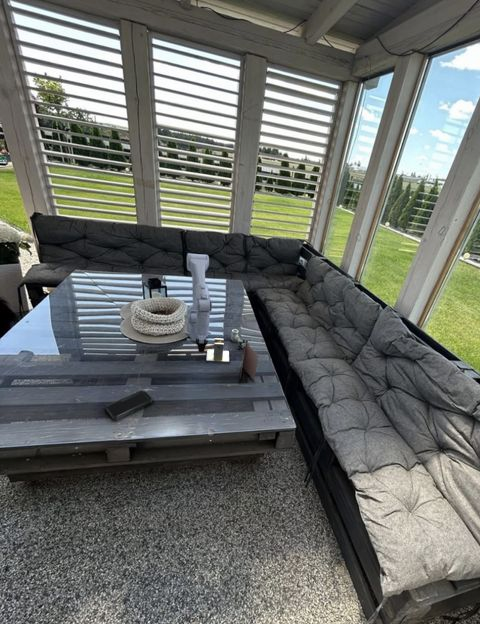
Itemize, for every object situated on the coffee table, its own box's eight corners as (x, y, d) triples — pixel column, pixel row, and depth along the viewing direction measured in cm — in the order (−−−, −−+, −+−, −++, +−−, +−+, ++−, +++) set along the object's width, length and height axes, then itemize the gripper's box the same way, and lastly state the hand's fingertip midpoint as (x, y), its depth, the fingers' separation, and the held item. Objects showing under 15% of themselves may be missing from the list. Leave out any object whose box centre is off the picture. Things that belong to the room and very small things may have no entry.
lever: (199, 354, 141) (196, 349, 139) (200, 351, 143) (197, 346, 141) (222, 347, 140) (220, 342, 138) (222, 344, 142) (220, 339, 141)
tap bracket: (206, 362, 140) (207, 345, 135) (207, 351, 147) (208, 335, 142) (228, 363, 142) (230, 347, 137) (228, 352, 149) (230, 337, 144)
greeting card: (240, 367, 141) (244, 342, 133) (255, 369, 142) (259, 344, 133) (237, 382, 132) (241, 356, 123) (253, 384, 132) (258, 358, 124)
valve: (227, 340, 159) (237, 351, 152) (228, 329, 156) (238, 341, 148) (237, 337, 163) (248, 349, 155) (238, 328, 159) (249, 339, 151)
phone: (153, 400, 113) (114, 418, 102) (153, 402, 113) (114, 421, 103) (142, 389, 116) (104, 406, 106) (143, 391, 117) (104, 408, 107)
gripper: (211, 332, 128) (209, 356, 135) (212, 316, 139) (210, 340, 147) (194, 330, 126) (194, 355, 134) (197, 315, 138) (196, 339, 145)
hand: (201, 347), depth 140 cm, fingers open, 7 cm apart
